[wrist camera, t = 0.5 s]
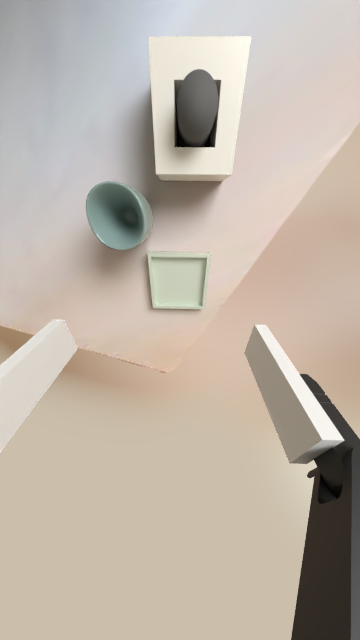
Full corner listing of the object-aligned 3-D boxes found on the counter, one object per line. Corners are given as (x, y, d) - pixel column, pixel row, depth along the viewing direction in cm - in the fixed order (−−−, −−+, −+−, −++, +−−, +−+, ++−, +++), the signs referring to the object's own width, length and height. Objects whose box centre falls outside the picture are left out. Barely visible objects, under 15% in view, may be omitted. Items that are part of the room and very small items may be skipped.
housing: (156, 78, 21) (148, 36, 16) (235, 78, 20) (251, 36, 16) (161, 180, 26) (155, 174, 21) (222, 181, 26) (231, 174, 21)
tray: (149, 251, 32) (147, 253, 31) (209, 252, 32) (210, 254, 31) (154, 304, 39) (152, 308, 38) (203, 305, 39) (204, 309, 38)
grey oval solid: (178, 103, 20) (176, 69, 15) (212, 103, 20) (221, 68, 15) (178, 151, 23) (177, 134, 18) (208, 151, 22) (215, 134, 18)
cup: (120, 241, 32) (98, 253, 23) (107, 191, 27) (74, 183, 19) (159, 238, 31) (150, 249, 23) (152, 186, 27) (138, 176, 19)
